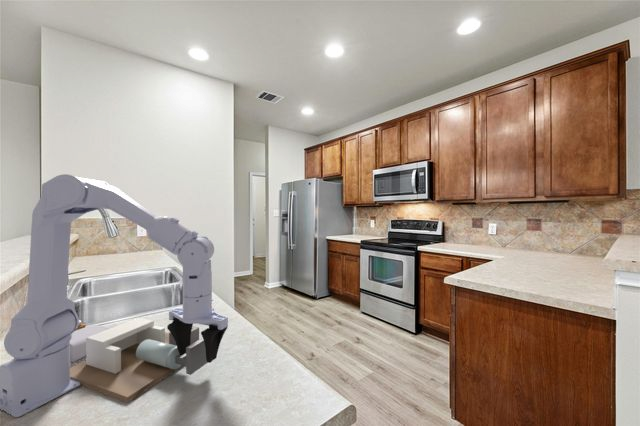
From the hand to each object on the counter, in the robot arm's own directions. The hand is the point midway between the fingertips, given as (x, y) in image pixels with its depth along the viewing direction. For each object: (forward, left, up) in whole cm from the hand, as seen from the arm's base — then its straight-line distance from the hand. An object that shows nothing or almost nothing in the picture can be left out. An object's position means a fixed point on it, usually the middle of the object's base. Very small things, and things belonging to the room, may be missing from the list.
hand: (197, 356), depth 57 cm
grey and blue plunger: (0, +8, -4) cm, 9 cm away
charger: (+2, +38, -5) cm, 38 cm away
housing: (+2, +19, -4) cm, 20 cm away
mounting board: (+1, +18, -5) cm, 19 cm away
